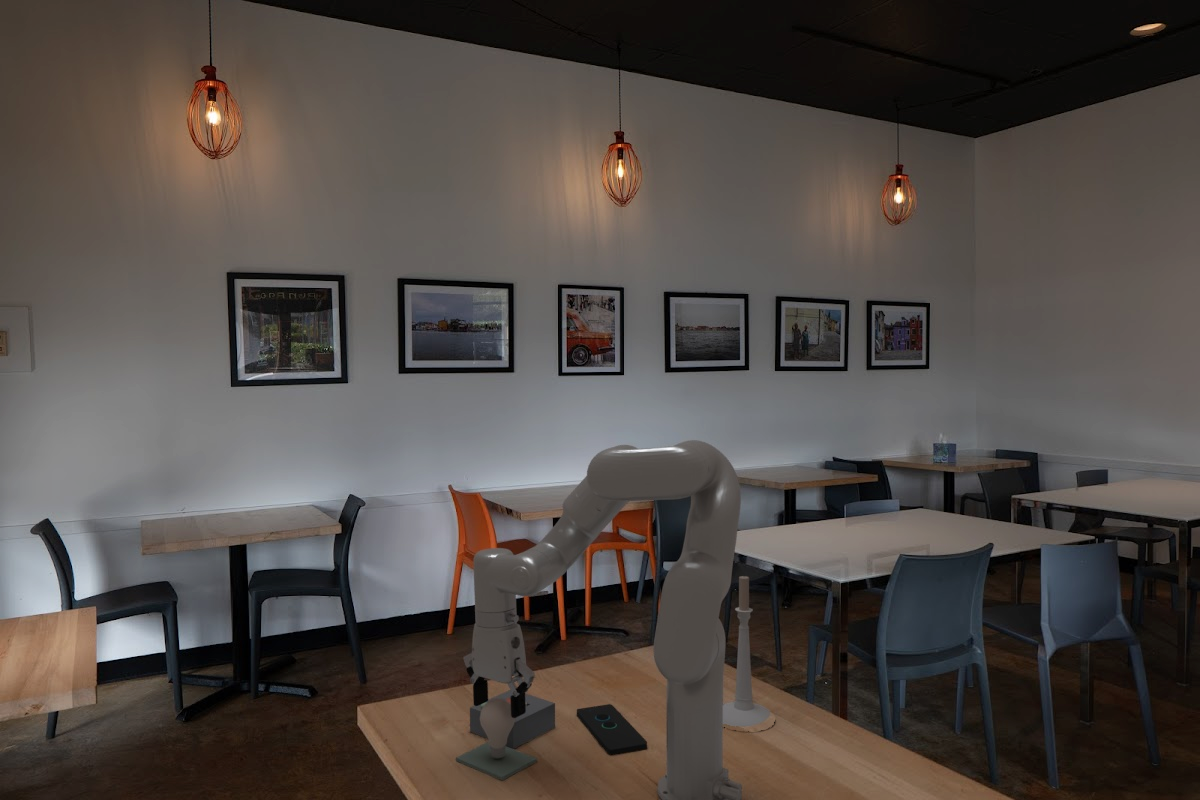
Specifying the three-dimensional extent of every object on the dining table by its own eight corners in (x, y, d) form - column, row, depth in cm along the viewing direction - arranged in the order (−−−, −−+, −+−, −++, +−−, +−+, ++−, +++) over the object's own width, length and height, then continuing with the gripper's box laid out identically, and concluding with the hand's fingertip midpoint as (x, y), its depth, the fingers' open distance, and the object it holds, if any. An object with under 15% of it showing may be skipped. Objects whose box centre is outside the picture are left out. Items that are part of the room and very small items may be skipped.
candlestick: (699, 718, 172) (699, 574, 171) (739, 701, 181) (739, 564, 180) (748, 738, 163) (749, 586, 162) (788, 720, 171) (788, 575, 170)
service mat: (536, 761, 153) (536, 758, 153) (502, 780, 146) (502, 777, 146) (491, 743, 161) (491, 740, 161) (456, 760, 154) (456, 757, 154)
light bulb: (509, 768, 150) (509, 707, 149) (474, 765, 151) (474, 705, 150) (520, 751, 156) (519, 693, 156) (486, 748, 157) (486, 691, 157)
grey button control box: (555, 727, 168) (555, 699, 168) (513, 748, 158) (513, 718, 158) (512, 712, 175) (512, 685, 175) (470, 732, 166) (469, 703, 166)
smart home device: (611, 702, 177) (649, 742, 158) (611, 710, 177) (649, 751, 158) (574, 708, 174) (608, 749, 155) (574, 716, 174) (608, 758, 156)
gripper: (544, 619, 150) (548, 713, 151) (478, 605, 161) (481, 693, 161) (515, 630, 144) (519, 727, 145) (448, 615, 155) (452, 705, 155)
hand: (499, 709), depth 153 cm, fingers open, 9 cm apart
